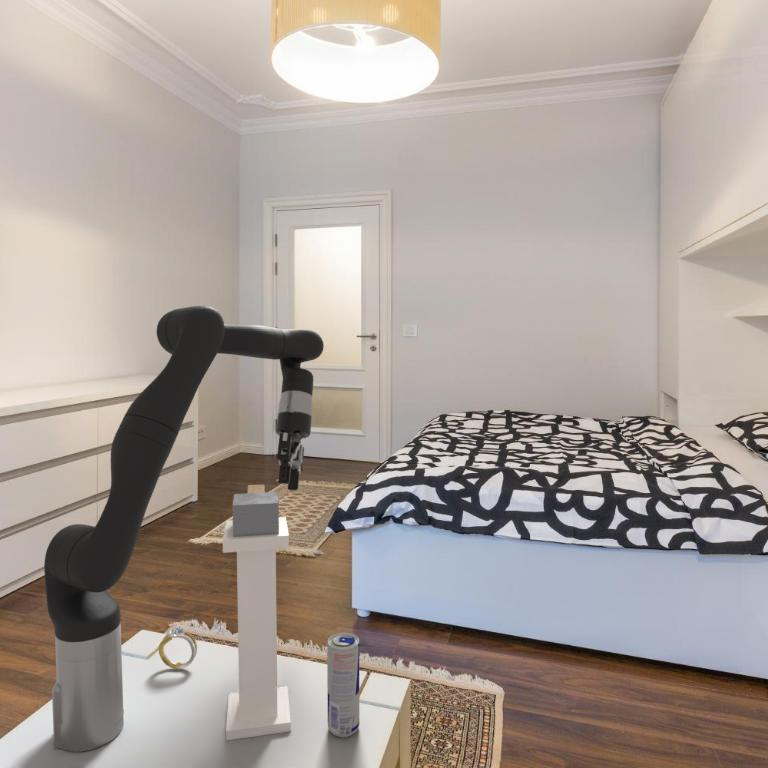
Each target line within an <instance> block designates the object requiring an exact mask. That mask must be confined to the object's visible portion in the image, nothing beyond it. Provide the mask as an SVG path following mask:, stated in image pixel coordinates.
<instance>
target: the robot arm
mask: <svg viewBox="0 0 768 768" xmlns="http://www.w3.org/2000/svg"><path fill="white" fill-rule="evenodd" d="M156 338H157V341H158V343H159V344H160V346H161V348H162V349H164V351H166V352H168V353H169V354H170V358H169V359H168V362H167V363H166V365H165V366H164V368H163V369H162V371H160V373H158V375H157V376H156V377H155V378H154V379H153V380H151V382H150V384H148V385H147V386H146V387H145V388H144V389H143V391H141V392H140V394H139V395H138V396H137V397H136V398H135V399H134V400H133V401H132V403H131V404H130V406H129V407H128V408H127V411H126V412H125V414H124V416H123V418H122V420H121V422H120V424H119V426H118V428H117V430H116V432H115V434H114V437H113V440H112V443H111V448H110V478H111V479H110V490H109V494H108V498H107V500H106V503H105V506H104V508H103V511H102V513H101V514H100V517H99V519H98V520H97V523H96V524H95V526H94V525H90V524H82V523H76V524H70V525H67V526H65V527H63V528H62V529H60V530H59V531H57V532H56V534H55V535H54V536H53V537H52V539H51V540H50V542H49V544H48V546H47V549H46V552H45V554H44V555H45V557H44V564H43V565H44V568H43V570H44V584H45V595H46V607H47V612H48V616H49V618H50V620H51V622H52V624H53V625H54V626H53V628H54V642H55V643H54V646H55V669H56V671H55V672H56V681H55V683H54V685H53V686H52V688H51V702H52V726H53V727H52V730H53V749H63V750H66V751H70V752H85V751H91V750H94V749H97V748H100V747H101V746H103V745H106V744H107V743H109V742H111V741H113V739H115V738H116V737H117V736H118V735H119V734H120V733H121V731H122V730H123V727H124V719H125V718H124V713H125V711H124V689H123V683H124V682H123V659H122V658H123V657H122V656H123V655H122V654H123V653H122V625H121V623H122V622H121V619H122V618H121V616H122V615H121V607H120V604H119V602H118V601H117V600H116V599H115V598H114V597H113V596H112V595H111V594H110V593H109V592H108V590H110V588H112V587H113V586H114V585H116V584H117V583H118V582H119V580H120V579H121V578H122V576H123V575H124V573H125V571H126V570H127V568H128V566H129V563H130V560H131V559H132V555H133V552H134V549H135V547H136V543H137V541H138V540H137V539H138V537H139V533H140V530H141V527H142V524H143V521H144V518H145V514H146V512H147V509H148V506H149V503H150V501H151V499H152V496H153V494H154V491H155V489H156V486H157V483H158V481H159V478H160V475H161V473H162V472H163V468H164V466H165V464H166V462H167V459H168V458H169V456H170V453H171V451H172V449H173V447H174V444H175V443H176V440H177V437H178V434H180V431H181V430H180V429H181V427H182V424H183V422H184V419H185V418H186V415H187V413H188V411H189V409H190V406H191V404H192V402H193V400H194V397H195V395H196V393H197V391H198V389H199V387H200V385H201V384H202V383H201V382H202V381H203V379H204V378H205V376H206V374H207V372H208V370H209V368H210V367H211V365H212V363H213V362H214V360H215V358H216V357H217V354H222V355H224V354H225V355H232V356H233V355H234V356H242V357H250V358H257V359H265V360H273V361H275V360H276V361H277V360H279V363H280V370H281V375H282V381H281V382H282V383H281V392H280V393H281V394H280V398H279V403H278V409H277V410H278V411H277V419H276V421H277V422H276V430H275V432H276V434H277V435H278V437H279V438H278V448H277V456H276V459H277V461H278V465H279V469H278V470H279V474H278V483H279V484H281V485H287V489H288V490H289V491H292V492H293V491H294V492H296V491H298V490H299V484H300V483H299V482H300V474H301V473H303V471H304V469H303V468H304V457H305V455H304V453H305V447H304V446H303V445H302V444H301V443H302V442H301V440H302V439H306V438H309V437H310V435H311V430H312V429H311V428H312V420H313V419H312V418H313V390H314V374H313V373H312V372H311V371H310V370H308V369H306V368H301V365H302V363H306V362H309V361H310V362H311V361H314V360H317V359H318V358H319V357H320V356H321V355H322V353H323V352H324V348H325V346H324V341H323V338H322V336H320V334H319V333H318V332H316V331H314V330H312V329H307V328H288V329H287V328H286V329H285V328H279V327H272V326H267V325H259V324H234V323H231V324H230V323H225V322H224V319H223V316H222V315H221V313H220V311H218V310H217V309H216V308H214V307H212V306H209V305H194V306H193V305H191V306H187V307H181V308H175V309H173V310H170V311H168V312H167V313H165V314H163V315H162V316H161V318H159V320H158V323H157V326H156Z"/></svg>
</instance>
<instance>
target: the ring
mask: <svg viewBox="0 0 768 768" xmlns="http://www.w3.org/2000/svg"><path fill="white" fill-rule="evenodd" d="M175 638H176V639H177V638H179V639H182V640H183V639H184V640H185V641H187V643H188V645H189V646H190V649H191V655H190V656H191V657H190V658H189V660H188V661H186V662H183V663H181V662H177V663H176V662H173V661H172V660H170V659H169V658H168V656H167V654H166V652H165V644H166V643H167V642H169V641H171V640H173V639H175ZM197 652H198V643H197V640H196V639H195V637H194V636H193V635H192V634H191V633H190V632H188V631H186V629H185V628H183V627H181V626H175V627H174V628H173V630H172V629H168V630H167V633H166V635H164V637H163V638H162V640H161V642H160V643H159V645H158V655H159V657H160V659H161V661H162V662H163V664H165V665H166V666H168V667H169V668H171V669H173V670H175V669H179V670H182V669H185V668H187V667H189V666H190V665H191V664H192V662H194V660H195V659H196V656H197Z"/></svg>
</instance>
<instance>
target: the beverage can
mask: <svg viewBox="0 0 768 768" xmlns="http://www.w3.org/2000/svg"><path fill="white" fill-rule="evenodd" d="M326 646H327V649H326V652H327V653H326V654H327V655H326V656H327V657H326V658H327V659H326V660H327V667H326V668H327V672H326V673H327V678H326V679H327V682H326V683H327V685H326V686H327V728H328V730H329V732H331V734H333V735H334V736H336V737H338V738H348V737H350V736H353V734H355V733H356V732H357V731H358V729H359V727H360V639H359V637H358V636H357V635H356V634H354V633H350V632H339V633H335V634H332V635H331V636H329V637H328V639H327V645H326Z"/></svg>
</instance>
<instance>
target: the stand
mask: <svg viewBox="0 0 768 768" xmlns="http://www.w3.org/2000/svg"><path fill="white" fill-rule="evenodd" d="M289 535H290V534H289V528H288V522H287V517H286V516H279V534H273V535H258V536H243V537H233V519H232V520H230V519H229V520H225V524H224V530H223V535H222V536H223V537H222V553H223V554H225V553H236V576H237V577H236V579H237V582H236V583H237V639H238V640H237V641H238V642H237V644H238V645H237V646H238V655H237V656H238V692H237V691H236V692H230V693H228V702H227V703H228V704H227V712H226V723H225V724H226V727H225V741H233V740H239V739H244V738H245V739H246V738H252V737H253V738H254V737H260V736H267V735H274V734H281V733H287V732H289V733H290V732H291V731H292V729H291V725H292V723H291V713H290V711H291V709H290V699H289V687H288V685H284V686H278V653H277V652H278V649H277V648H278V643H277V641H278V640H277V639H278V638H277V635H278V634H277V631H278V629H277V557H276V556H277V555H276V553H277V551H276V550H278V549H280V550H281V549H290V536H289Z"/></svg>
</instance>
